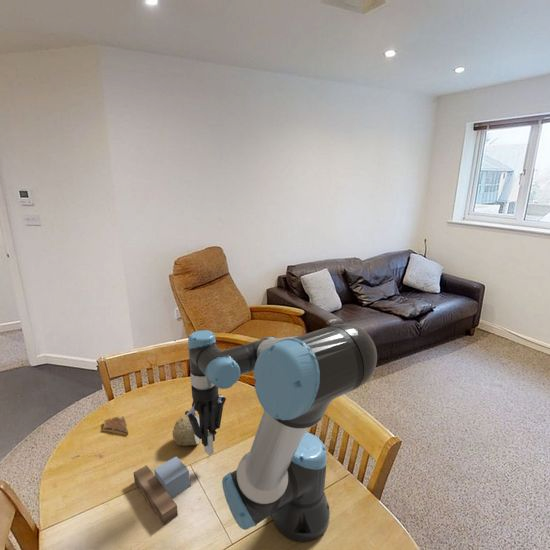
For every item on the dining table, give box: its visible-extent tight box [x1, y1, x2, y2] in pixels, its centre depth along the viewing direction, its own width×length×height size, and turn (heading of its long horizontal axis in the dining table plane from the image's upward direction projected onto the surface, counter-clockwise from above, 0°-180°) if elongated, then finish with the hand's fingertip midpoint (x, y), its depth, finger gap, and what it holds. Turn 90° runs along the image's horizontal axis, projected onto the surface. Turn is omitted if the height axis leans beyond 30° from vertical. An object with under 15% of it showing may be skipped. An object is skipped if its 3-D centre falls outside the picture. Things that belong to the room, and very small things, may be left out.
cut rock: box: [172, 414, 201, 446], centre depth 118 cm, size 10×10×10 cm
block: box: [153, 456, 191, 499], centre depth 102 cm, size 7×7×6 cm
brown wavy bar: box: [133, 464, 179, 526], centre depth 98 cm, size 18×4×4 cm, turn 44°
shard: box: [101, 415, 129, 436], centre depth 124 cm, size 11×8×2 cm
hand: (209, 451), depth 108 cm, fingers closed
